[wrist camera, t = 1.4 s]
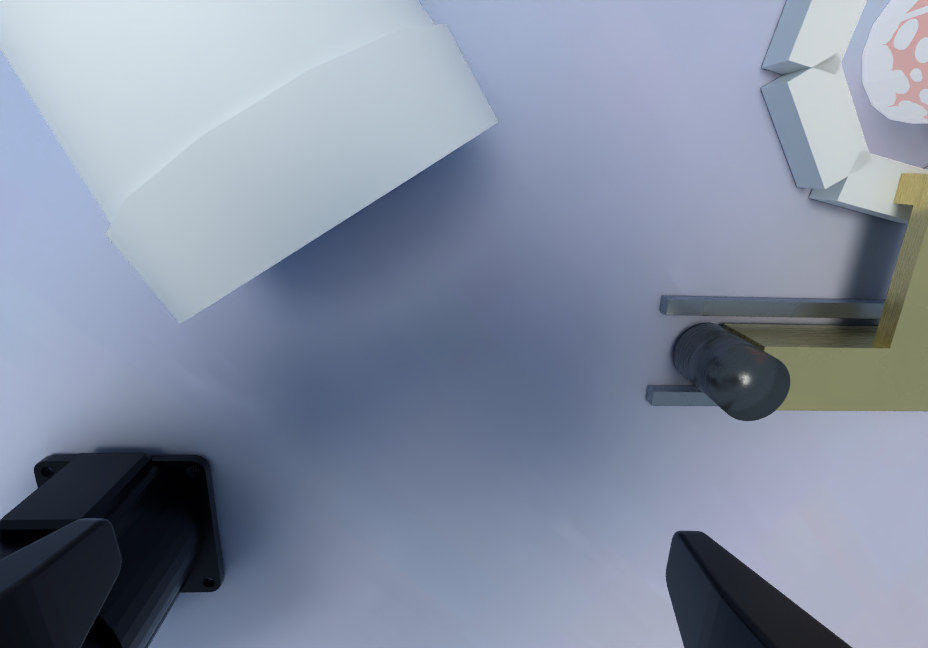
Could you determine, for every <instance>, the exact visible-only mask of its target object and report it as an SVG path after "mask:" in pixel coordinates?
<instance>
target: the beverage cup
mask: <svg viewBox="0 0 928 648" xmlns="http://www.w3.org/2000/svg"><path fill="white" fill-rule="evenodd" d="M862 83H863V86H864V88H865V90H866V93H867V95H868V97H869V100H870V102H871V104H872V106H873V107H875V108H876V109H877V110H878V111H879V112H881V113H882V114H883V115H884V116H886V117H887V118H888V119H889V120H895V121H900V122H906V123H911V124H928V0H891V1H890V2H889V4H888V5H887V6H886V8H885V9H884V10H883V12H882V13H881V15H880V16H879V17H878V19H877V20H876V21H875V23H874V24H873V25H872V28H871V31H870V34H869V37H868V40H867V43H866V46H865V49H864V51H863V54H862Z"/></svg>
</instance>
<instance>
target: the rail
mask: <svg viewBox="0 0 928 648" xmlns="http://www.w3.org/2000/svg"><path fill="white" fill-rule="evenodd" d="M885 301H886V300H857V299H808V298H759V297H710V296H662V300H661V306H660V311H661V312H663V313H664V314H666V315H702V316H758V317H813V318H869V319H880V318H881V314H882V311H883V307H884V304H885ZM646 400H647V401H648V402H649V403H650V404H651V405H652V406H718V405H717V404H716V403H715V402H713V401H712V400H711V399H710V398H709V397H708V396H706V395H705V394H704V393H703V392H702V391H701V390H699V389H698V388H697V387H696V386H648V389H647V395H646Z"/></svg>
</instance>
